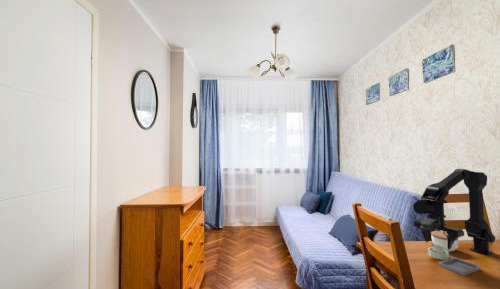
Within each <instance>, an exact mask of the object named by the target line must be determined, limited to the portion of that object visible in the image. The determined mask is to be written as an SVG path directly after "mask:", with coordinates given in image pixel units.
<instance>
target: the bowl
mask: <svg viewBox="0 0 500 289" xmlns="http://www.w3.org/2000/svg"><path fill="white" fill-rule="evenodd" d="M427 255H428V256H429V257H430V258H433V259H437V260H442V261H445V260H448V259H450V254H449V252H448V251H446V250H444V254H440V253H435V252H433V246H431V247H428V248H427Z"/></svg>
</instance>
